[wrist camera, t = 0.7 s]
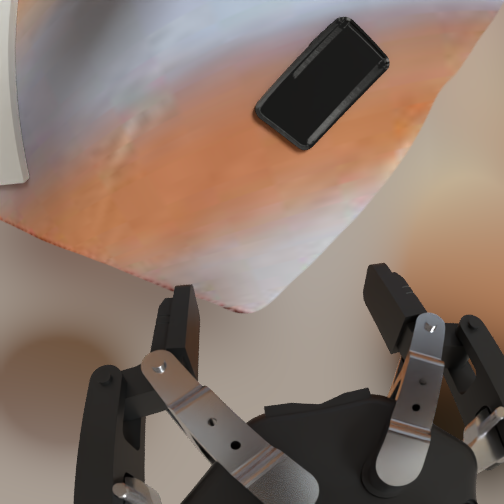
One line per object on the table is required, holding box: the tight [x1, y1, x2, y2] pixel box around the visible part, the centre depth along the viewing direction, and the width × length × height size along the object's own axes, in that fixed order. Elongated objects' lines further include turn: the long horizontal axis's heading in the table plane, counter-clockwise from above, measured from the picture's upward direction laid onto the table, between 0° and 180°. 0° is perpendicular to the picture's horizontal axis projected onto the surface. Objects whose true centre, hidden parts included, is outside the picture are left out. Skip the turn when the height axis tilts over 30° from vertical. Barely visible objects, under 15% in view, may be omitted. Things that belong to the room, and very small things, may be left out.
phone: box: [255, 17, 389, 150], centre depth 27 cm, size 8×1×15 cm
